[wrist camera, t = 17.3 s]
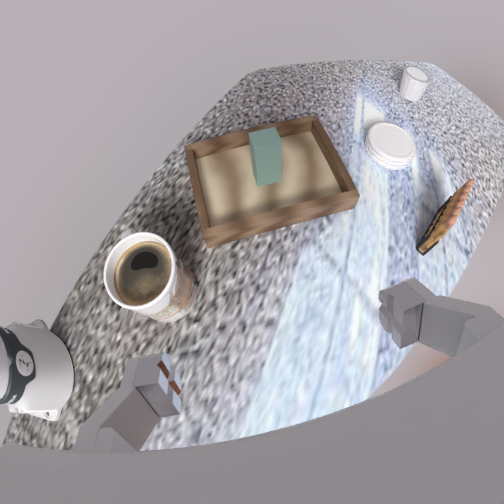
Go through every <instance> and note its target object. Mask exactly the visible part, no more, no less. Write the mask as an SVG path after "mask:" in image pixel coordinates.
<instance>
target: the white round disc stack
mask: <svg viewBox="0 0 504 504" xmlns="http://www.w3.org/2000/svg"><path fill="white" fill-rule="evenodd" d="M365 148H366V151H367V153H368V155H369V156H370V157H371V158H372V159H373V160H374V161H375V162H376V163H377V164H379V165H380V166H382V167H385V168H387V169H391V170H401V169H404V168H406V167H407V166H408V165H409V164H410V162H411V161H412V159H413V157H414V155H415V152H416V146H415V143H414V141H413V139H412V137H411V136H410V135H409V134H408V133H407V132H406V131H405V130H404V129H403V128H401V127H399V126H397V125H395V124H392V123H388V122H379V123H376V124H374V125H372V126H371V127H370V129H369V130H368V134H367V136H366V139H365Z"/></svg>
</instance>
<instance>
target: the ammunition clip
mask: <svg viewBox="0 0 504 504" xmlns="http://www.w3.org/2000/svg"><path fill="white" fill-rule="evenodd" d="M473 181H474V180H473V179H471V180H469V181H467V182H466V183H465V184H464V185H463V186H462V187H461V188H460V189H458V190H457V191H456V192H455V193H454V195H453V196H450V197H449V199H448V200H447V201H446V202H445V203H444V204H443V205H442V206H441V207H440V209H439V210H438V212H437V213H436V215H435V217H434V219H433V221H432V222H431V224H430V226H429V227H428V229H427V231H426V233H425V234H424V236H423V238H422V239H421V241H420V242H419V244H418V246H417V247H416V250H417V251H418V252H419V253H421V254H422V255H423V256H424V255H425V254H426V253H427V252H428V251H430V250H431V249H432V248H433V247H434V246H435V245H436V244H437V243H438V242H439V240H440V239H441V238H442V237H443V236H444V235H445V234H446V233H447V231H448V230H449V229H450V228H451V227H452V226H453V224H454V223H455V222H456V220H457V216H458V215H459V213H460V211H461V208H462V207H463V205H464V202H465V200H466V198H467V196H468V193H469V191H470V189H471V186H472V184H473Z"/></svg>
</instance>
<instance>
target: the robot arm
mask: <svg viewBox="0 0 504 504" xmlns="http://www.w3.org/2000/svg"><path fill="white" fill-rule="evenodd" d="M379 301H380V302H381V303H382V305H381V306H380V308H379V318H380V322H381V324H382V326H383V328H384V329H385V331H386V332H389V333H392V339H393V341H394V342H395V343H396V344H397V346H398V347H399V348H400V349H401V348H404V347H406V346H408V345H411V344H413V343H415V342H417V341H419V342H420V343H422V344H424V345H427V346H429V347H431V348H433V349H435V350H438V351H440V352H442V353H445V354H447V355H449V356H451V357H453V358H451V359H449V360H448V361H446V362H444V363H442V364H440V365H439V366H437V367H435V368H433V369H431V370H429V371H428V372H426V373H424V374H422V375H420V376H418V377H416V378H414V379H412V380H410V381H408V382H406V383H404V384H402V385H400V386H398V387H395V388H393V389H391V390H389V391H386V392H384V393H382V394H380V395H377V396H375V397H373V398H370V399H368V400H365V401H363V402H360V403H358V404H355V405H353V406H350V407H347V408H345V409H342V410H339V411H336V412H334V413H331V414H328V415H325V416H322V417H319V418H316V419H313V420H309V421H306V422H303V423H300V424H296V425H293V426H289V427H285V428H282V429H278V430H274V431H270V432H266V433H262V434H258V435H253V436H249V437H244V438H239V439H234V440H229V441H224V442H218V443H212V444H205V445H199V446H191V447H183V448H174V449H164V450H151V451H140V449H141V448H142V446H143V444H144V443H145V441H146V440H147V438H148V437H149V435H150V433H151V432H152V430H153V429H154V427H155V426H156V424H157V422H158V421H159V419H160V417H166V416H172V415H178V414H180V407H181V400H180V399H179V397H178V395H179V394H180V392H181V381H180V377H179V374H178V372H177V370H176V369H175V368H174V367H172V366H170V361H171V360H170V358H169V357H168V355H167V354H166V353H159V354H154V355H148V356H142V357H137V358H132V359H129V360H128V361H127V364H126V367H125V371H124V375H123V379H122V382H121V386H120V389H118V390H116V391H115V392H114V393H113V394H112V395H111V396H110V397H109V398H108V399H107V400H106V401H105V402H104V403H103V404H102V405H101V406H100V407H99V408H98V409H97V410H96V411H95V412H94V413H93V414H92V415H91V417H90V418H89V419H88V420H87V421H86V422H85V423H84V424H83V425H82V426H81V427H80V429H79V433H78V436H77V440H76V444H75V447H74V451H68V450H56V449H46V448H37V447H30V446H24V445H18V444H13V443H6V444H4V445H2V446H1V447H0V504H504V318H503V317H501V316H500V315H499V314H498V313H496V311H494V310H493V309H492V308H491V307H489V306H485V305H480V304H476V303H471V302H467V301H463V300H458V299H454V298H449V297H445V296H441V295H440V296H436V295H435V294H433V293H432V292H431V291H430V290H429V289H428V288H426V287H425V286H424V285H423V284H422V283H420V282H419V281H418V280H417V279H415V278H410V279H407V280H405V281H403V282H401V283H398V284H396V285H393V286H391V287H388V288H386V289H383V290H380V292H379ZM73 382H74V372H73V365H72V361H71V357H70V354H69V352H68V350H67V348H66V346H65V345H64V343H63V342H62V341H61V339H60V338H59V337H57V336H56V335H55V334H53V333H52V332H51V331H50V330H49V329H48V328H47V326H46V324H45V322H44V321H42V320H35V321H34V322H32V323H30V324H29V325H26V324H21V323H15V322H13V323H12V325H9V326H8V327H7V328H3V327H1V326H0V405H8V407H9V411H10V412H13V413H23V414H24V413H28V414H31V415H34V416H37V417H40V418H44V419H47V420H50V421H58V420H59V418H60V415H61V410H62V407H63V406H64V405H65V403H66V402H67V401H68V399H69V397H70V395H71V392H72V389H73Z"/></svg>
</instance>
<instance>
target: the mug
mask: <svg viewBox="0 0 504 504" xmlns="http://www.w3.org/2000/svg"><path fill="white" fill-rule="evenodd" d="M104 283H105V287H106V290H107V292H108V294H109V295H110V297H111V298H112V299H113V300H114V301H115V302H116V303H117V304H118V305H120V306H122V307H124V308H127V309H129V310H131V311H134V312H136V313H138V314H141V315H143V316H146V317H148V318H151V319H153V320H156V321H159V322H172V321H176V320H178V319H180V318H182V317H183V316H184V315H186V314H187V313H188V312H189V310H190V309H191V308H192V306H193V304H194V302H195V299H196V295H197V283H196V279H195V277H194V274H193V273H192V271H191V270H190V269H189V268H188V266H187V265H186V264H185V263H184V262H183V261H182V259H181V258H180V257H179V256H178V255H177V253H176V252H175V251H174V250H173V249H172V247H171V246H170V245H169V244H168V243H167V242H166V241H165V240H164V239H163V238H162V237H160V236H159V235H157V234H154V233H150V232H138V233H137V232H136V231H135V230H134V229H132V228H128V229H127V230H125V231H124V232H122V233H121V241H119V242H118V243H117V244H116V245H115V246H114V248H113V249H112V250H111V252H110V254H109V255H108V258H107V260H106V263H105V267H104Z"/></svg>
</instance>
